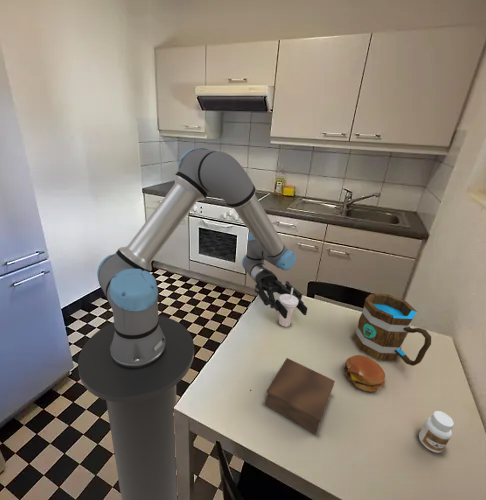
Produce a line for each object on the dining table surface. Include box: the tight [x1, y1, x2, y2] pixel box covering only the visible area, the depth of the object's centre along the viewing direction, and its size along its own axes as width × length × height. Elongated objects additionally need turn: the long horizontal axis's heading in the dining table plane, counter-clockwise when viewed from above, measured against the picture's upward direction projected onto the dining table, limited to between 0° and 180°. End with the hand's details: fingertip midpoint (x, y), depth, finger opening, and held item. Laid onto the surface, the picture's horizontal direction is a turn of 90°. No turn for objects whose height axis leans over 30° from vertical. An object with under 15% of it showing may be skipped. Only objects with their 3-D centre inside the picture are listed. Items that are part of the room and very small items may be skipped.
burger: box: [343, 354, 386, 393], centre depth 74 cm, size 10×9×5 cm
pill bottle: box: [418, 410, 455, 454], centre depth 58 cm, size 4×4×8 cm
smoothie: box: [278, 288, 299, 328], centre depth 92 cm, size 6×6×14 cm
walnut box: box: [265, 357, 336, 436], centre depth 67 cm, size 12×12×5 cm
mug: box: [352, 292, 432, 367], centre depth 82 cm, size 20×14×15 cm
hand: (295, 313), depth 87 cm, fingers closed on smoothie, 6 cm apart
